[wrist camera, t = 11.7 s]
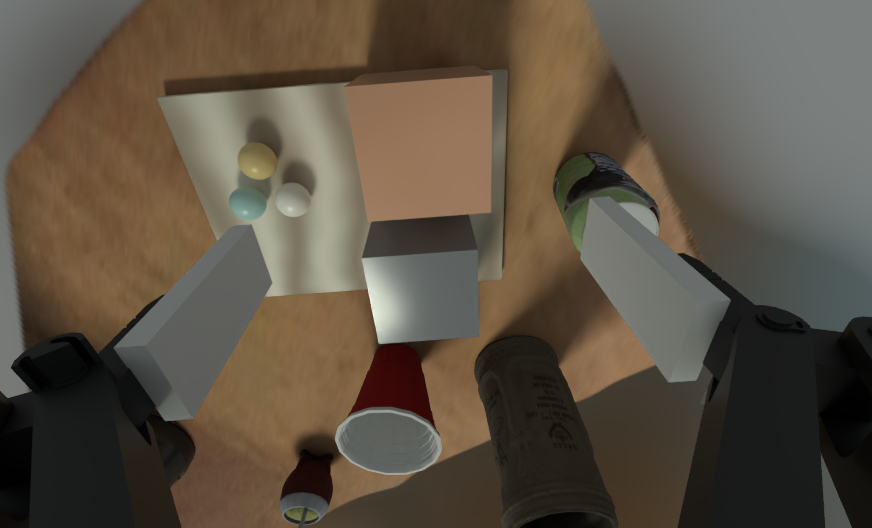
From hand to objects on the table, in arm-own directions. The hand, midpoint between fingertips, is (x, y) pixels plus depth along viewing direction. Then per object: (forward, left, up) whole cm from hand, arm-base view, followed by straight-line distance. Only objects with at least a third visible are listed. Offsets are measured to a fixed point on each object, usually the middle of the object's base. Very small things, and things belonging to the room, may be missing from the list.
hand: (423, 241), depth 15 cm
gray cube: (-1, -12, -20) cm, 23 cm away
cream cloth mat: (-7, -6, -21) cm, 23 cm away
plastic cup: (-6, -28, -21) cm, 36 cm away
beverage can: (+14, -6, -21) cm, 26 cm away
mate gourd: (-21, -48, -21) cm, 56 cm away
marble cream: (-12, -5, -20) cm, 24 cm away
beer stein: (+9, -33, -21) cm, 40 cm away
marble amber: (-14, -1, -20) cm, 24 cm away
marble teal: (-16, -5, -20) cm, 26 cm away
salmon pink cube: (0, 0, -20) cm, 20 cm away
